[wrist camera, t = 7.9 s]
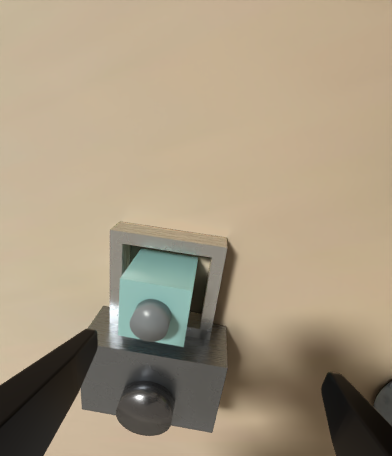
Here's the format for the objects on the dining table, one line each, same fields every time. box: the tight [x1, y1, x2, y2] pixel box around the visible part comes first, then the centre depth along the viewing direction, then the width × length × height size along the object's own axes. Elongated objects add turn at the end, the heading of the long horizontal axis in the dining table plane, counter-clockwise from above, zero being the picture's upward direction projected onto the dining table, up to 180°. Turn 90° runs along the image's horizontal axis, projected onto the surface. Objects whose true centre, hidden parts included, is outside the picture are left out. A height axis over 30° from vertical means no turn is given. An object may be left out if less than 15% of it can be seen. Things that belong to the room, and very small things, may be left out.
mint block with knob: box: [118, 248, 198, 347], centre depth 19 cm, size 5×5×6 cm
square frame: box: [81, 222, 228, 436], centre depth 20 cm, size 12×17×6 cm
